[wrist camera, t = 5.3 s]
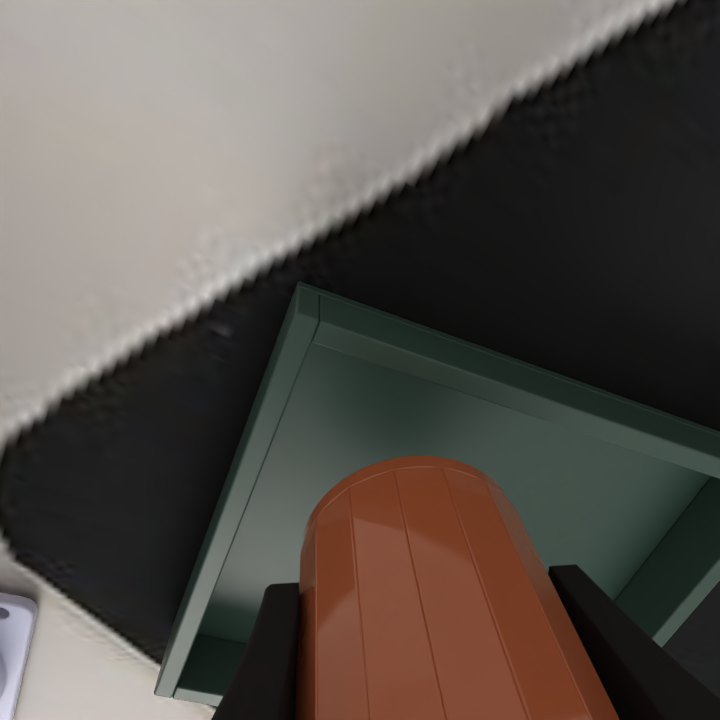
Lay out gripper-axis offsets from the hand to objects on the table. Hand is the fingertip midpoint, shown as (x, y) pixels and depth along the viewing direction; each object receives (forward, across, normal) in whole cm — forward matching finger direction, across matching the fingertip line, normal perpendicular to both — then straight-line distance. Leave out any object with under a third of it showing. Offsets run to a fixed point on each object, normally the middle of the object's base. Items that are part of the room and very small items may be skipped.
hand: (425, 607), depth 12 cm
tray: (+6, -2, +4) cm, 7 cm away
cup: (+2, 0, 0) cm, 2 cm away
